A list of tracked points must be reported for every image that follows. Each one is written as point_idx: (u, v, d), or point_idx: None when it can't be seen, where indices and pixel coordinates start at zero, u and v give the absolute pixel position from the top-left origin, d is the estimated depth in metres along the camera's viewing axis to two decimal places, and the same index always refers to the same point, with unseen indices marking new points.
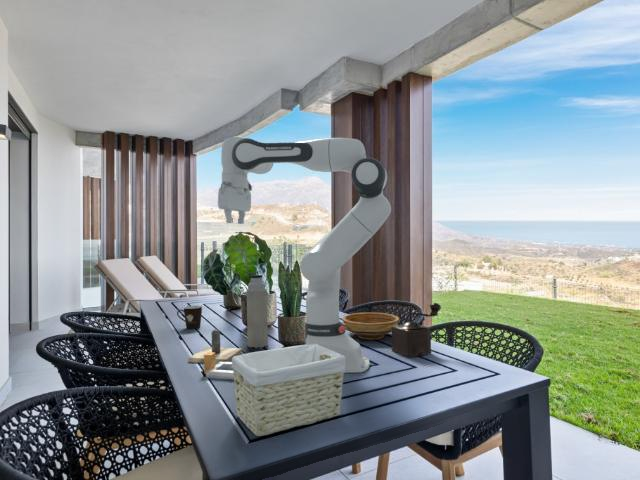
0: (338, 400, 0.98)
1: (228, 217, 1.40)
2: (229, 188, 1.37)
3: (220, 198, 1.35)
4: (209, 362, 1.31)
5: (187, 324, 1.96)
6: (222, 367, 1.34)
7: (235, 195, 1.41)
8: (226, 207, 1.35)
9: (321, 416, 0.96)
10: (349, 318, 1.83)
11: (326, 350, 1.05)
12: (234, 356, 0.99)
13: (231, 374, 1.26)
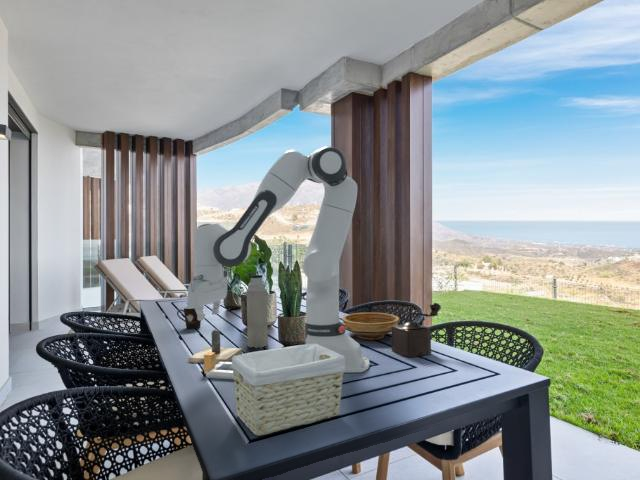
0: (337, 400, 0.98)
1: (199, 314, 1.27)
2: (200, 284, 1.24)
3: (190, 296, 1.23)
4: (209, 362, 1.31)
5: (187, 324, 1.96)
6: (222, 367, 1.34)
7: (207, 288, 1.29)
8: (196, 306, 1.23)
9: (320, 416, 0.96)
10: (349, 318, 1.83)
11: (326, 350, 1.05)
12: (234, 356, 0.99)
13: (231, 374, 1.26)
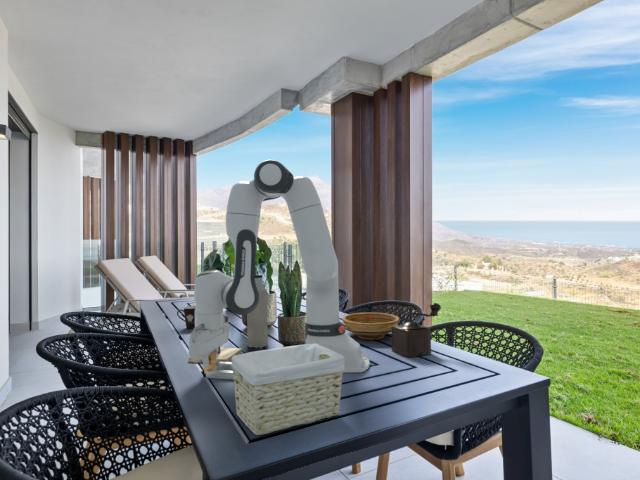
0: (337, 399, 0.98)
1: (205, 361, 1.29)
2: (201, 335, 1.24)
3: (191, 347, 1.23)
4: None
5: (187, 324, 1.96)
6: (222, 367, 1.34)
7: (209, 337, 1.29)
8: (198, 357, 1.23)
9: (320, 415, 0.96)
10: (349, 318, 1.83)
11: (325, 350, 1.05)
12: (234, 355, 1.00)
13: (231, 374, 1.26)
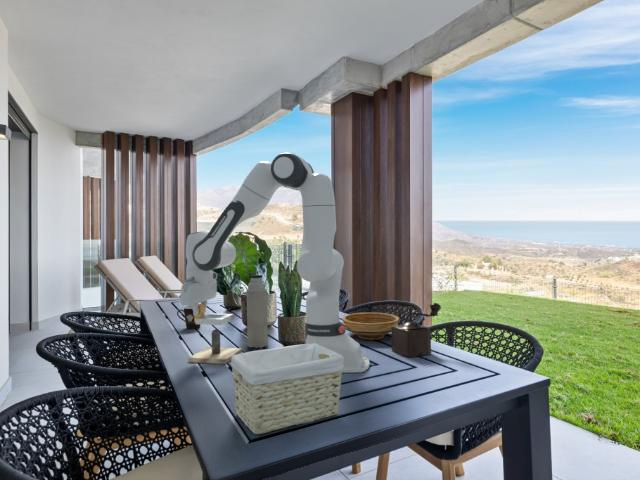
0: (336, 399, 0.99)
1: (195, 310, 1.48)
2: (191, 285, 1.42)
3: (182, 296, 1.41)
4: None
5: (187, 324, 1.96)
6: (210, 317, 1.52)
7: (198, 289, 1.47)
8: (188, 304, 1.41)
9: (319, 415, 0.96)
10: (349, 318, 1.83)
11: (325, 349, 1.06)
12: (233, 355, 1.00)
13: (217, 320, 1.44)
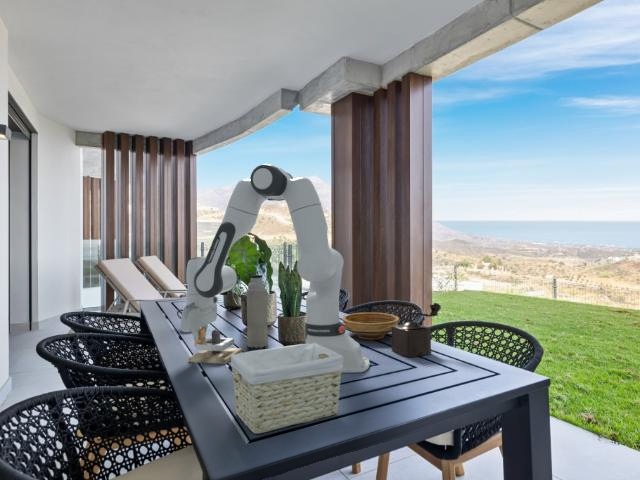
0: (336, 399, 0.99)
1: (195, 335, 1.48)
2: (192, 311, 1.42)
3: (183, 322, 1.41)
4: None
5: None
6: (210, 341, 1.52)
7: (199, 314, 1.47)
8: (188, 331, 1.41)
9: (319, 414, 0.97)
10: (349, 318, 1.83)
11: (324, 349, 1.06)
12: (233, 355, 1.00)
13: (217, 346, 1.44)
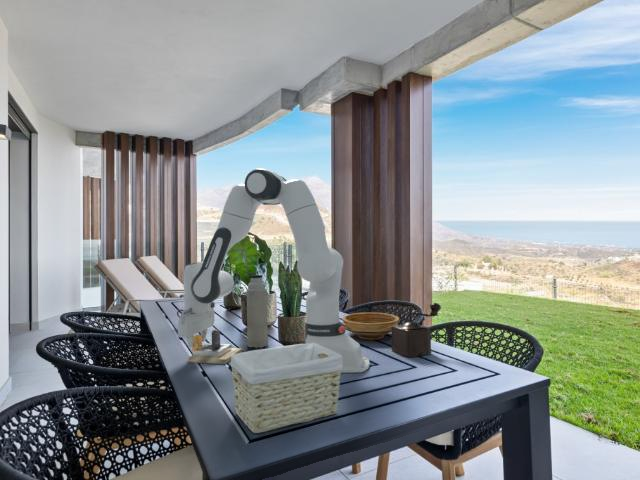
0: (335, 398, 0.99)
1: (190, 342, 1.46)
2: (189, 317, 1.43)
3: (180, 328, 1.41)
4: (196, 343, 1.49)
5: None
6: (208, 347, 1.53)
7: (196, 319, 1.47)
8: (186, 336, 1.41)
9: (318, 414, 0.97)
10: (349, 318, 1.83)
11: (324, 349, 1.06)
12: (233, 354, 1.01)
13: (215, 352, 1.44)
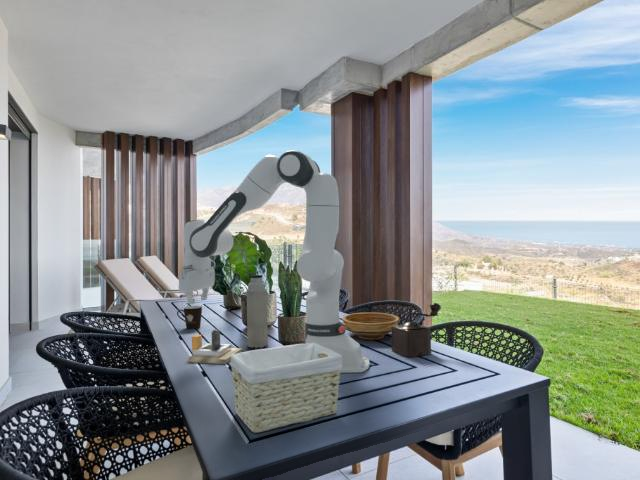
0: (335, 398, 0.99)
1: (189, 299, 1.46)
2: (189, 273, 1.43)
3: (181, 283, 1.42)
4: (196, 343, 1.49)
5: (187, 324, 1.96)
6: (208, 347, 1.53)
7: (196, 276, 1.48)
8: (186, 291, 1.42)
9: (317, 414, 0.97)
10: (349, 318, 1.83)
11: (324, 349, 1.06)
12: (233, 354, 1.01)
13: (215, 352, 1.44)
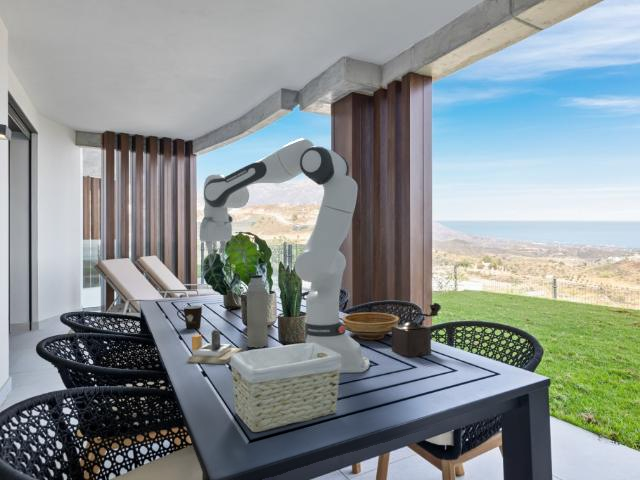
0: (334, 398, 0.99)
1: (209, 248, 1.54)
2: (210, 223, 1.51)
3: (201, 232, 1.50)
4: (196, 343, 1.49)
5: (187, 324, 1.96)
6: (208, 347, 1.53)
7: (215, 228, 1.56)
8: (207, 240, 1.50)
9: (317, 413, 0.97)
10: (349, 318, 1.83)
11: (323, 348, 1.06)
12: (232, 354, 1.01)
13: (215, 352, 1.44)
